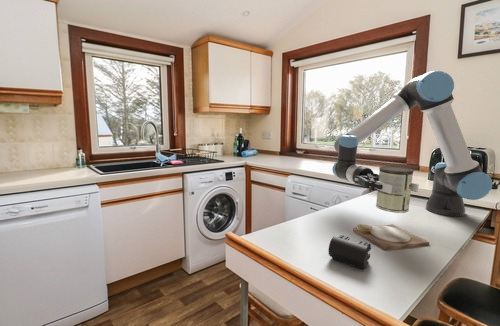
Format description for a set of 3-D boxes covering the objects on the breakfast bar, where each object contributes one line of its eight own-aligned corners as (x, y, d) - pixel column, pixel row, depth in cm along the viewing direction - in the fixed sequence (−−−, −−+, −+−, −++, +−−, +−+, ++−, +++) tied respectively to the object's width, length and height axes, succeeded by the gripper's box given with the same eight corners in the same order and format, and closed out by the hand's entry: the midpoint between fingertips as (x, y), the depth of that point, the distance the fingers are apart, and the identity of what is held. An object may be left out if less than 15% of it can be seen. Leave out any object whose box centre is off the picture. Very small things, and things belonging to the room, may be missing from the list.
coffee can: (374, 202, 102) (378, 165, 99) (405, 206, 98) (410, 167, 96) (377, 210, 92) (381, 169, 90) (411, 215, 89) (417, 172, 86)
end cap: (327, 261, 79) (328, 239, 78) (337, 252, 84) (338, 232, 83) (362, 274, 73) (365, 250, 72) (370, 264, 78) (373, 242, 77)
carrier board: (392, 226, 107) (393, 221, 106) (429, 244, 92) (430, 238, 91) (353, 230, 102) (353, 225, 101) (384, 250, 87) (385, 243, 86)
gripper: (382, 183, 115) (429, 198, 93) (335, 185, 108) (374, 201, 87) (384, 165, 113) (432, 176, 92) (336, 166, 107) (376, 178, 86)
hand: (404, 188), depth 90 cm, fingers closed on coffee can, 10 cm apart
